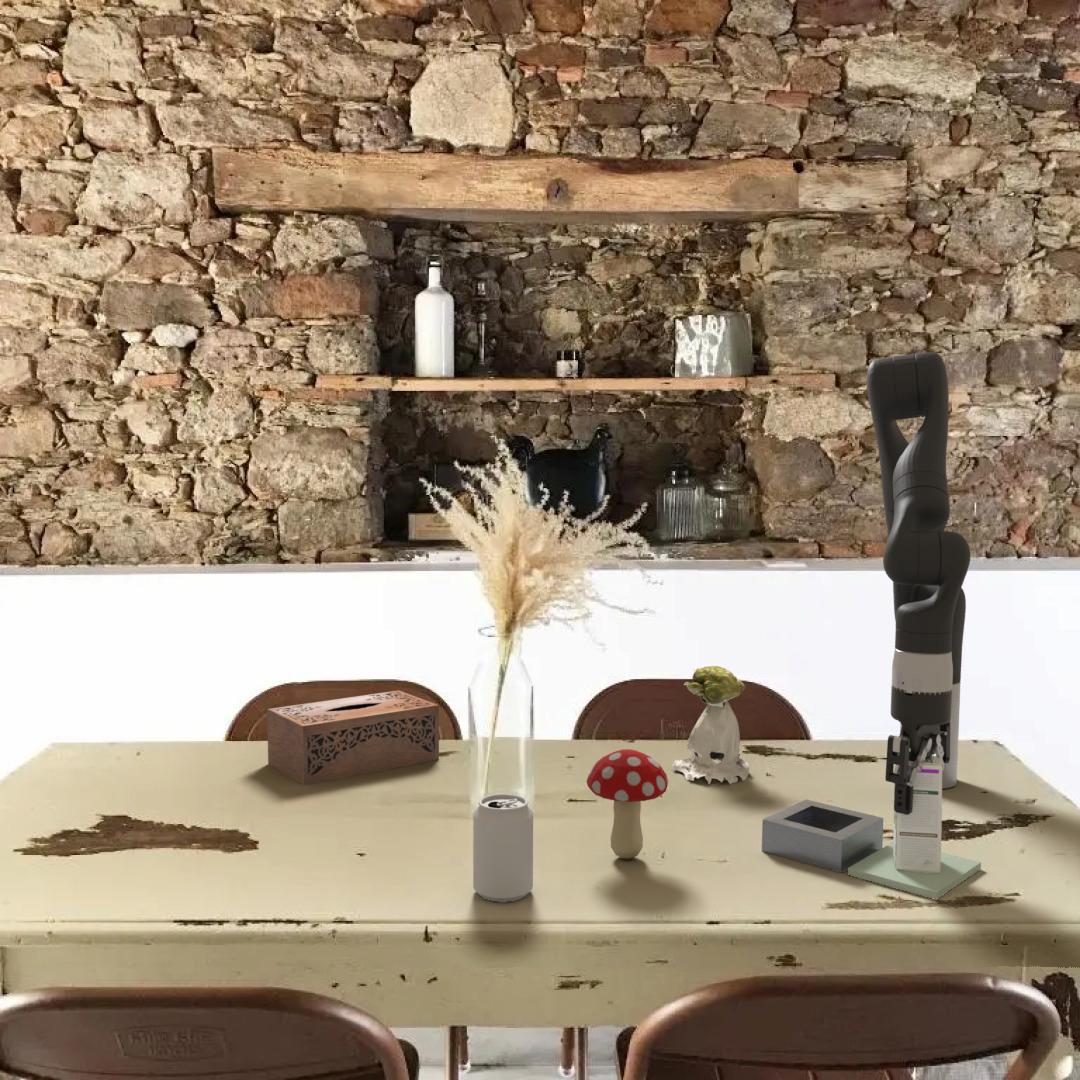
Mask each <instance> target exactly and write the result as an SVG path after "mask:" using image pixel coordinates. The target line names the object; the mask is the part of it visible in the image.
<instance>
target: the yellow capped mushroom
mask: <svg viewBox="0 0 1080 1080" xmlns="http://www.w3.org/2000/svg"><path fill="white" fill-rule="evenodd" d="M691 680H692V682H689V681H686V682H684V684H683V686H685V687H686V688H687V690H688V691H689V692H690V693H692V694H693V695H695V696H697V697H700V700H701V701H702V702H703V703H704V704H707V705H706V707H705V709H703V711H702V713H701V714H700V716H699V717H698V720H697V722H696V723H695V725H694V727H693V728H692V730H691V733H690V735H689V738H688V739H687V745H686V746H687V748H686V749H687V750H690V751H691V752H692V754H691V756H690V757H685V758H682V759H681V760H679V759H675V760H674V761H673V764H672V767H671V771H678V772H682V773H683V775H684V778H686V779H687V780H686V779H685V780H686V781H693V782H694V781H695V778H696V779H700V778H701V777H704V779H705V780H706V781H707V783H708V785H710V784H711V783H712V779H713V780H714V779H716V780H717V781H720V783H723V782H724V780H726V781H727V782H728V784H730V785H732V784H731V783H733V784H736V783H737V782H738V781H739V779H738V777H737V776H739V778H741V781H746V780H747V777H748V776H749V771H750V770H749V769H750V763H749V762H746V761H745V759H743V758H740V756H741V754H740V744H741V740H740V726H739V722H738V719H737V716H736V715H735V712H734V711H733V709H732V707H731V705H730V703H729V700H732V699H735V698H736V697H739V696H740V695H741V694H742V692H743V691H744V690H746V685H745V684H744V683H743V682H742V681H741V680H740V679H738V678H737V676H736V675H734V673H733V672H732V671H730V670H729V669H727V668H725V667H723V666H720V665H719V666H717V665H709V666H703V667H701V668H697V669H695V670H694V672H693V674H692V678H691ZM716 760H717V761H720V762H718V763H716V762H715V761H716ZM735 782H736V783H735Z"/></svg>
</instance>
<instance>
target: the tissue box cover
mask: <svg viewBox="0 0 1080 1080" xmlns="http://www.w3.org/2000/svg"><path fill="white" fill-rule="evenodd" d="M266 712H267V713H266V715H267V762H268V763H267V764H268V765H269V766H270V767H272V768H274V769H275V770H278V771H279V772H281V773H283V774H284V775H286V776H288V777H290V779H293V780H294V781H296V782H298V783H300V784H301V785H303V786H304V785H309V784H310V785H311V784H314V783H320V782H324V781H325V782H326V781H331V780H336V779H337V780H338V779H342V778H348V777H352V776H359V775H363V774H368V773H374V772H378V771H379V772H380V771H383V770H390V769H394V768H395V769H396V768H401V767H406V766H410V765H417V764H422V763H426V762H427V763H429V762H432V761H433V762H434V761H438V760H440V705H439V704H437V703H434V702H431V701H428V700H426V699H424V698H420V697H418V696H416V695H412V694H409V693H406V692H404V691H402V690H391V691H386V692H385V691H384V692H378V693H370V694H365V695H357V696H349V697H343V698H336V699H328V700H322V701H315V702H313V701H312V702H307V703H301V704H300V703H299V704H294V705H293V704H292V705H286V706H280V707H273V708H272V707H271V708H267V709H266Z"/></svg>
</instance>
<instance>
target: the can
mask: <svg viewBox="0 0 1080 1080" xmlns="http://www.w3.org/2000/svg"><path fill="white" fill-rule="evenodd" d="M528 804H529V801H528V799H527V798H526V797H523V796H522V795H518V794H511V793H496V794H495V793H494V794H490V795H485V796H483V797H482V798H480V799H479V800H478V805H479V806H478V807H476V808H475V810H474V811H473V813H472V814H473V815H472V817H473V818H472V820H473V822H472V824H473V825H472V828H473V829H472V830H473V832H472V833H473V836H472V838H473V839H472V840H473V841H472V842H473V843H472V849H473V850H472V851H473V854H472V857H473V859H472V863H473V865H472V866H473V867H472V869H473V870H472V872H473V873H472V874H473V875H472V877H473V879H472V883H473V884H472V886H473V890H474V891H475V892H476V893H477V894H479V895H480V897H481V896H482V897H483V898H482V897H481V898H482V899H484V900H486V899H488V900H487V901H489V900H492V901H491V902H493V901H499V902H498V903H508V902H507V901H512V902H516V900H517V901H520V900H522V899H524V898H525V897H526V896H527V894H529V893H530V892H531V891H532V890H533V886H534V812H533V810H532V808H530V807H529V806H528ZM523 897H524V898H523ZM521 898H522V899H521ZM519 899H520V900H519ZM514 900H515V901H514Z"/></svg>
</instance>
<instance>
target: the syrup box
mask: <svg viewBox="0 0 1080 1080" xmlns="http://www.w3.org/2000/svg"><path fill="white" fill-rule="evenodd" d="M912 762H914V761H912ZM895 766H896V765H895V764H894V767H895ZM908 774H909V770H908ZM893 784H894V783H893ZM893 786H894V791H895V784H894V785H893ZM912 786H913V810H912V813H910V814H909V815H905V814H901V813H897V812H895V810H894V809H893V841H892V842H893V857H894V861H895V867H896V869H898V870H904V871H912V872H924V873H940V864H941V852H942V830H943V829H942V822H943V819H942V818H943V813H942V811H943V806H942V805H943V788H942V765H941V762H940V759H939V757H937V756H936V755H932V756H931V757H930V758H928V759H925V761H924V764H923V767H922V770H921V771H920V772H917V773H916V776H915V779H914V783H913V785H912Z"/></svg>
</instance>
